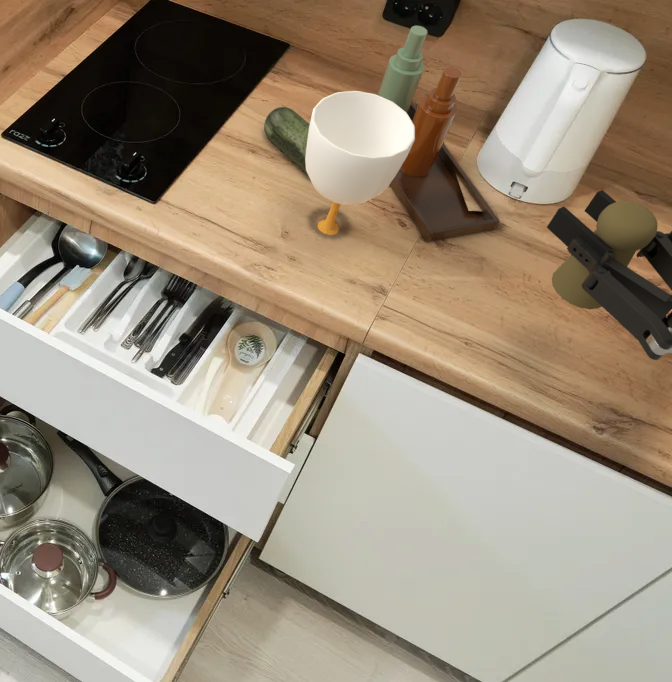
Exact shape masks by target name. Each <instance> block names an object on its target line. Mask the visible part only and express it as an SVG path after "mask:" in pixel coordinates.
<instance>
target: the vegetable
mask: <svg viewBox="0 0 672 682" xmlns="http://www.w3.org/2000/svg"><path fill="white" fill-rule="evenodd" d="M263 125H264V126H263V128H264V129H263V132H264V134H265V136H266V138H267V139H268V140H269V142H270V143H272V144H273V145H274V146H275V147H276V148H277V149H278V150H280V151H281V152H282V153H283V154H285V155H286V156H287V157H288V158H289V159H290V160H291V161H292V162H293V163H294V164H296V165H297V166H298V167H299V168H300V169H301V170H302V171H303V172H304V173H305V174H306V175H307V176H308V173H307V171H306V163H305V156H306V147H307V139H308V131H309V125H310V122H308V121H307V120H305V119H304V118H303V117H302V116H301V115H300V114H299V113H297V112H296V111H295V110H294V109H292V108H290V107H287V106H279V107H276V108H274V109H273V110H271V111H270V112H269V113H268V115H267V116H266V118H265V120H264V123H263Z"/></svg>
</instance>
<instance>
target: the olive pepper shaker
mask: <svg viewBox="0 0 672 682" xmlns="http://www.w3.org/2000/svg"><path fill="white" fill-rule="evenodd" d="M595 228H596V229H595V230H594V231H593V232H594V233H595V234H596V235H597V236H598V237H599V238H600V239H602V240H603V241H604V242H605V243H606V244H607V245H608V246H609V247H611V248H612V249H613V251H615V253H614V254H613V255H612V258H614V259H615V260H617V261H618V262H620V263H621V264H623V265H625V266H626V267H628V266H629V265H630V263H631V261H632V259H633V257H634V256H635V254H636V253H637V251H640V249H642V248H644V247H645V246H647V245H648V244H649V243H650V242H651V240H652V239H653V238H654V237H655V235H656V232H657V231H658V228H659V227H658V220H657V217H656V216H655V214H654V213H653V212H652V211H651V210H650V209H649V208H648V207H646V206H645V205H643V204H641V203H638V202H637V201H634V200H633V201H632V200H627V199H626V200H617V201H616V202H615V203H613V204H610V205H609V206H607V207H606V208H605V209H604V210H603V211H602V212H601V214H600V215H599V218H598V221H597V222H596V225H595ZM608 272H609V273H610V271H608ZM588 275H589V271H588V269H587V268H586V267H585V266H583V265H582V264H581V263H580V262H579V261H578V260H577V259H576V258H575V257H574V256H573V255H571V254H570V255H569V256H568V257H567V258H566V259H565V260H564V262H562V263H561V265H560V266H558V267H557V268H556V270H554V272H552V276H551V284H552V288H553V289H554V291H555V292H556V294H557V295H558V296H559V297H560V298H561V299H562V300H564V301H565V302H567V303H568V304H570V305H572V306H575V307H578V308H580V309H585V310H596V309H600V308H603V307H602V306H601V305H600V304H599V303H598V302H597V301H595V300H594V299H593V298H592V297H591V296H590V295H589V294H588V293H587V292H586V291H585V290H584V289H583V288H582V286H581V285H582V283H583V282H584V280H585V279H586V278H587V276H588Z"/></svg>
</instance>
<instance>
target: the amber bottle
mask: <svg viewBox="0 0 672 682" xmlns="http://www.w3.org/2000/svg"><path fill="white" fill-rule="evenodd" d="M461 77H462V71H461V70H459V69H458V68H456V67H453V66H448V67H447V66H446V67H445V68H444V69H443V71H442V74H441V75H440V79H439V81H438V82H437V83H438V84H437V86H436V87H434V88H432V89H431V90H430V91H429V93H428V94H426V95H423V96H422V97H421V99H420V100H419V102H418V105H417V106H416V107H417V110H416V112H415V115H414V117H413V120H412V123H413V124H414V126H415V141H414V143H413V145H412V147H411V149H410V151H409V153H408V155H407V157H406V159H405V161H404V162H403V164H402V166H401V168H400V170H401V171H402V172H403V173H405V174H407V175H409V176H413V177H423V176H426V175H427V174H429V172H430V171H431V168H432V166H433V164H434V162H435V160H436V157H437V155H438V153H439V151H440V148H441V146H442V144H444V142H445V139H446V137H447V135H448V133H449V130H450V129H451V126H452V124H453V121H454V120H455V117H456V115H457V112H458V106H457V104H456V101H457V97H456V94H455V92H456V89H457V87H458V84H459V83H460V80H461Z"/></svg>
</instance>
